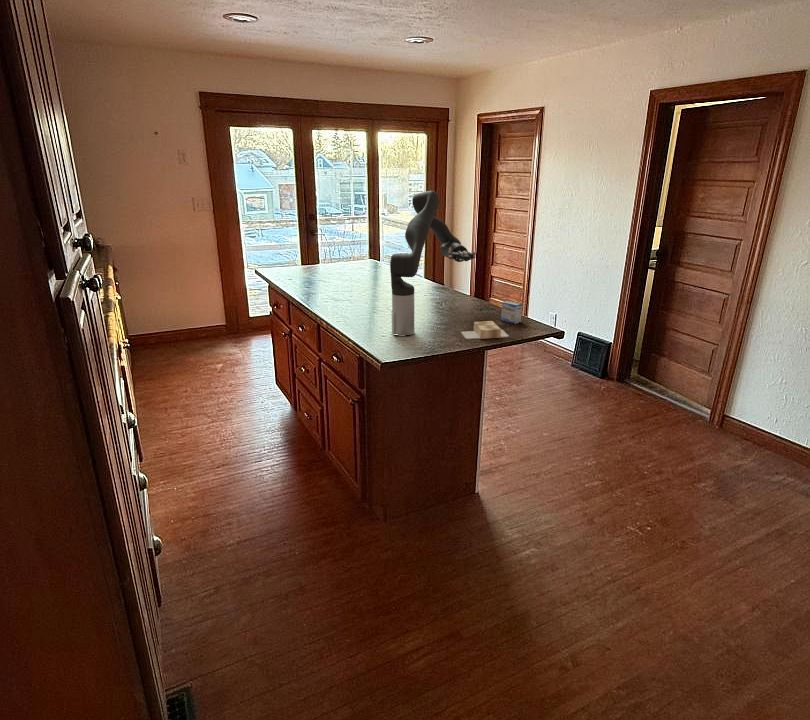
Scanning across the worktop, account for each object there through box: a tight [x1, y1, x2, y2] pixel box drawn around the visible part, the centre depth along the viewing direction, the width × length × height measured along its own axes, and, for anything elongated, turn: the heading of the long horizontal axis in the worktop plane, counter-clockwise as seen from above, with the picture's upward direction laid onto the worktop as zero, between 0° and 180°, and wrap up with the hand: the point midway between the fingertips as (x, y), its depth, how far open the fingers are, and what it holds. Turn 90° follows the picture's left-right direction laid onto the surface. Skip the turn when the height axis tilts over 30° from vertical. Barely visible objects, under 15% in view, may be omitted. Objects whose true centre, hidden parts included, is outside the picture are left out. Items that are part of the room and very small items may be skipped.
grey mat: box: [460, 329, 510, 340], centre depth 215 cm, size 18×9×1 cm, turn 98°
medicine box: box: [500, 300, 523, 325], centre depth 231 cm, size 8×4×9 cm, turn 45°
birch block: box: [473, 320, 502, 340], centre depth 215 cm, size 8×4×12 cm
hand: (466, 258), depth 225 cm, fingers closed
